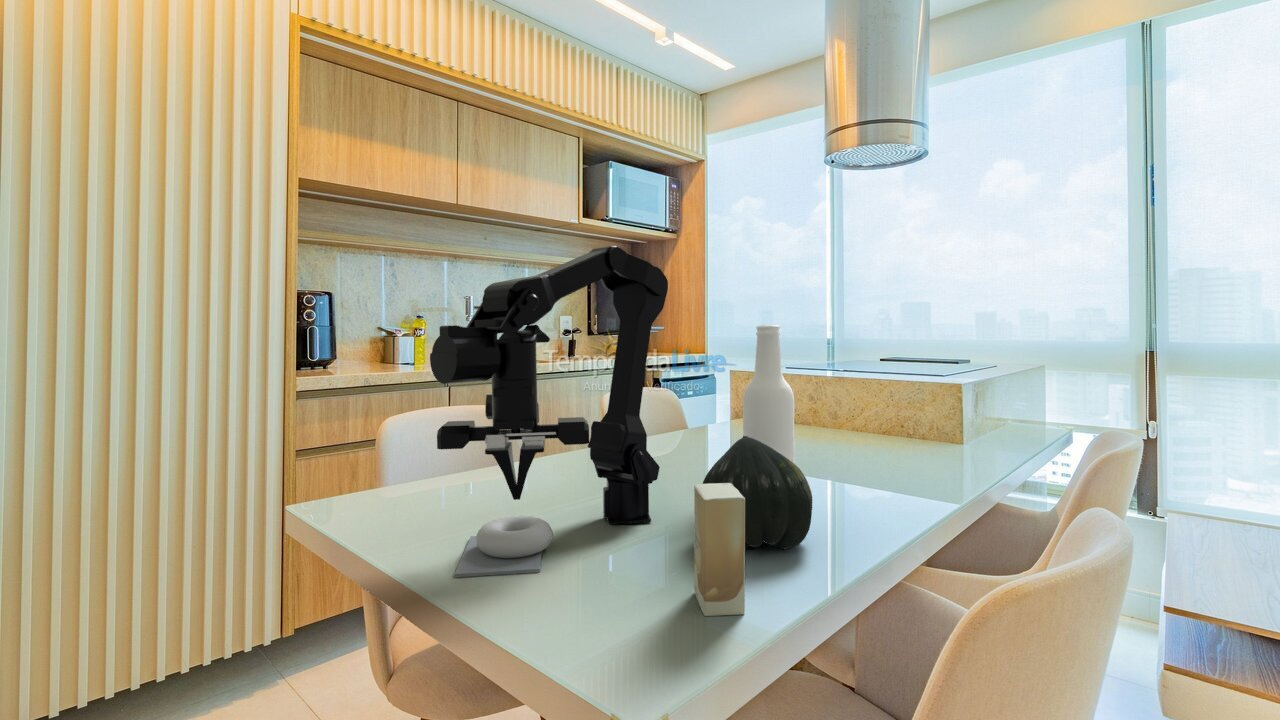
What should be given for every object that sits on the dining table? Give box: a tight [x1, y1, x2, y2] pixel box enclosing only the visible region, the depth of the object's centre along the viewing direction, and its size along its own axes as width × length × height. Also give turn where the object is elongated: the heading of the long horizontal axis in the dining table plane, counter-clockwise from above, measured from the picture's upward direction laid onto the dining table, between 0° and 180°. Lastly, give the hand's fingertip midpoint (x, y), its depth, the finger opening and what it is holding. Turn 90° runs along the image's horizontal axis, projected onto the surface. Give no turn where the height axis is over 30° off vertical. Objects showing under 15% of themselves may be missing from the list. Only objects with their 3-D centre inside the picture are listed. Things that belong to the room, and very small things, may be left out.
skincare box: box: [693, 483, 746, 617], centre depth 65 cm, size 6×4×12 cm
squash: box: [702, 435, 813, 550], centre depth 85 cm, size 14×15×15 cm
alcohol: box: [742, 324, 795, 464], centre depth 108 cm, size 9×9×30 cm
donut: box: [475, 515, 554, 558], centre depth 82 cm, size 10×4×10 cm
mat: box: [454, 535, 542, 578], centre depth 81 cm, size 10×14×1 cm
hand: (517, 498), depth 80 cm, fingers closed
